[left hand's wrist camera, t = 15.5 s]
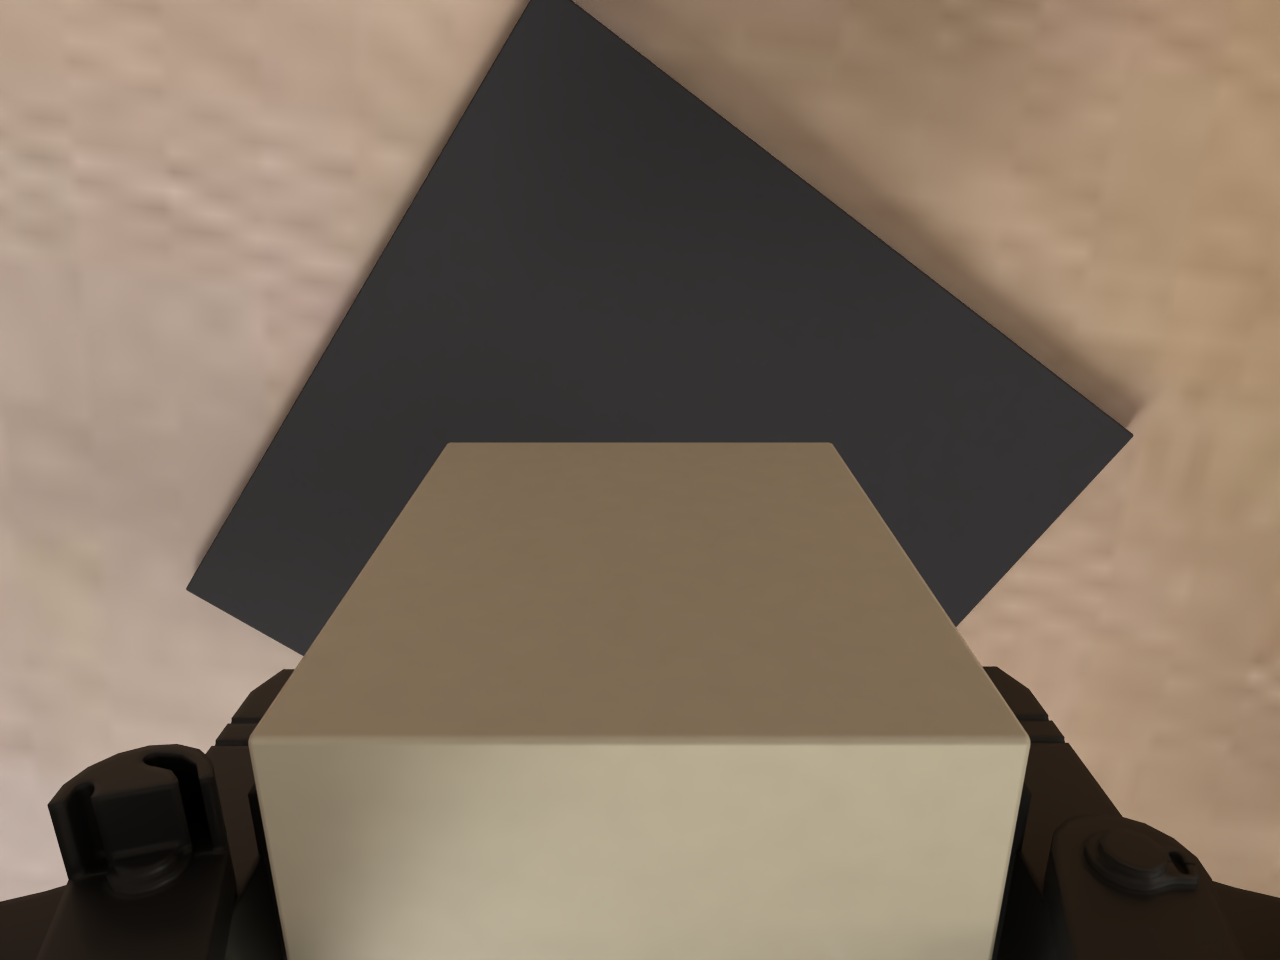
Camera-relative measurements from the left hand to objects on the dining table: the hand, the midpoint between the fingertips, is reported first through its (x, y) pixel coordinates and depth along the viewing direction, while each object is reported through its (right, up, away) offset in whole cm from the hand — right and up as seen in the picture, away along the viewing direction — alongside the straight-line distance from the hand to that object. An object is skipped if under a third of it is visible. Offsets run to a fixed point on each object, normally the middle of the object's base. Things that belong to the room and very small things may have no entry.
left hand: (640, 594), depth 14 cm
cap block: (0, 0, -1) cm, 1 cm away
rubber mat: (0, +1, +4) cm, 4 cm away
